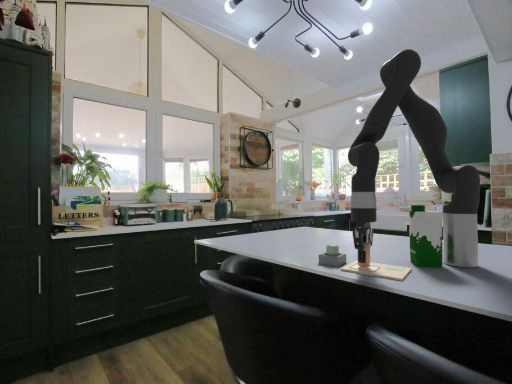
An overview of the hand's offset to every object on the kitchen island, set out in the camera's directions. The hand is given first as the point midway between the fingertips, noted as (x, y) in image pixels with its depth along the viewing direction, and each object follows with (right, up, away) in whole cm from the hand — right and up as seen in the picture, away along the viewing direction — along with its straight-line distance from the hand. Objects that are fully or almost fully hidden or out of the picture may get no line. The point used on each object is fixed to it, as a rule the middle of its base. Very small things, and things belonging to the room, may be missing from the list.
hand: (363, 261), depth 84 cm
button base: (-7, -3, +9) cm, 12 cm away
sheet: (+4, -3, -1) cm, 5 cm away
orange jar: (0, -1, 0) cm, 1 cm away
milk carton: (+23, -3, +6) cm, 25 cm away
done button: (-7, -1, +9) cm, 12 cm away
